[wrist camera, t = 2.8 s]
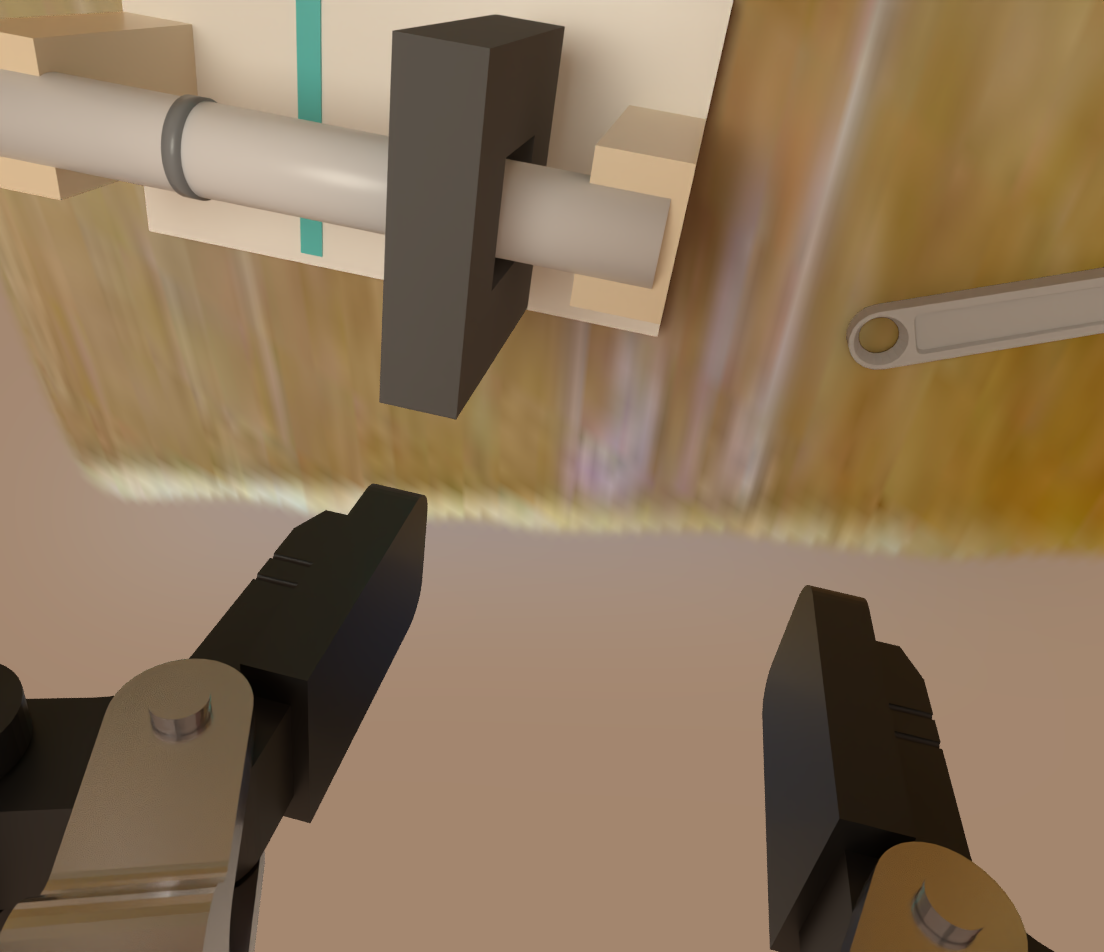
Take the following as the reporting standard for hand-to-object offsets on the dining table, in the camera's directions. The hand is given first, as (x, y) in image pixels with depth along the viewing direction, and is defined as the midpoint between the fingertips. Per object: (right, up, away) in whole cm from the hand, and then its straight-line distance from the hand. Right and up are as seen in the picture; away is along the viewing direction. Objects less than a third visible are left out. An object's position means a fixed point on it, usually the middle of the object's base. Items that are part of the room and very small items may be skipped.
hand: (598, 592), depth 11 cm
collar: (-2, +13, +19) cm, 23 cm away
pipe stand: (-6, +16, +24) cm, 30 cm away
